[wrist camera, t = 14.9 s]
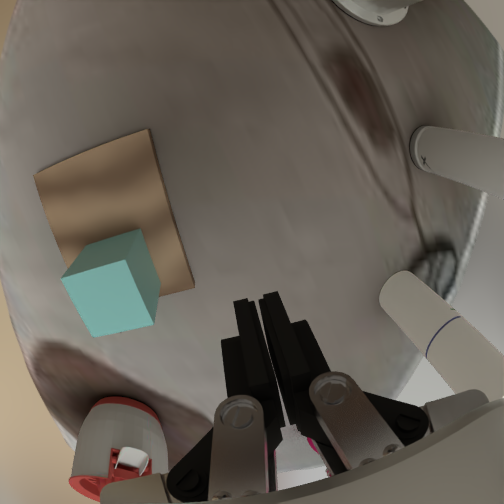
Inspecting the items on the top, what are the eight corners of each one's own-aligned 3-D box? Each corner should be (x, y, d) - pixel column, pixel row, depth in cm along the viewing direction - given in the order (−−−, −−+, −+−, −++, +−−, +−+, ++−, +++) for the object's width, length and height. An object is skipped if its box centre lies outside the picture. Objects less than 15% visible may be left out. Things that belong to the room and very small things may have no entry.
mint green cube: (86, 245, 29) (60, 278, 22) (140, 228, 29) (125, 259, 22) (109, 296, 32) (92, 337, 25) (161, 283, 32) (154, 324, 25)
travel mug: (405, 169, 33) (534, 220, 15) (411, 120, 31) (545, 145, 13) (437, 175, 35) (552, 224, 17) (442, 130, 32) (563, 160, 14)
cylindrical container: (383, 273, 39) (502, 394, 17) (419, 267, 40) (532, 368, 18) (375, 314, 42) (469, 435, 20) (409, 306, 43) (504, 409, 21)
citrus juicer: (186, 400, 43) (194, 510, 25) (153, 442, 48) (154, 528, 30) (95, 367, 38) (69, 482, 20) (79, 418, 42) (64, 506, 24)
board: (39, 172, 26) (33, 175, 24) (149, 128, 27) (147, 129, 25) (93, 306, 33) (90, 313, 32) (194, 281, 35) (194, 287, 33)
